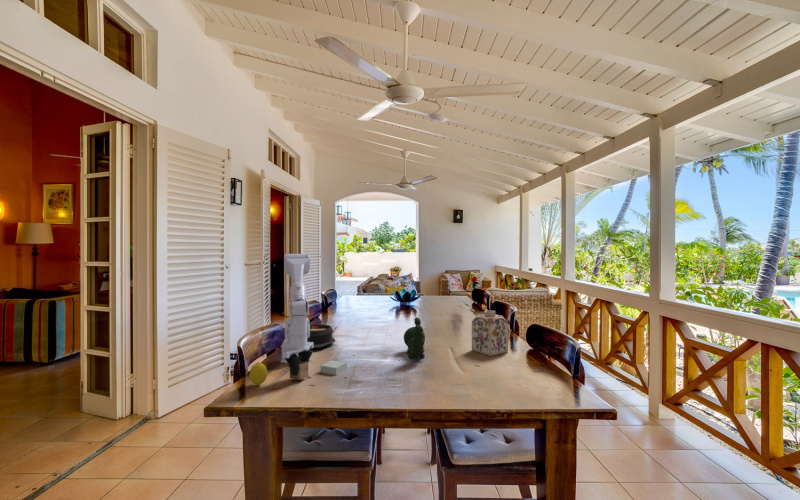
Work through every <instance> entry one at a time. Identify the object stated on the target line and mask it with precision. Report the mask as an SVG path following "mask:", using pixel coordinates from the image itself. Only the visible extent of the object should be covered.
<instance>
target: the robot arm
mask: <svg viewBox="0 0 800 500" xmlns="http://www.w3.org/2000/svg"><path fill="white" fill-rule="evenodd" d="M283 257H284V260H283V261H284V264H283V265H284V267H283V268H284V272H285V274H286V275H288V276H290V279H291V286H290V287H289V303H288V315H289V317H288V318H286V319H285V321H284V340H283V341H282V344H281V360H280V363H282V364H288V367H289V372H290V371H291V375H294V376H297V375H298V366H299V361H305V362H308V363H310V361H311V360H312V358H311V357H312V355H313V352H314V350H313V349H314V348H313V347H314V342H307V338H309V337H310V325H311V324H310V320H309V318H308V316H309V300H308V297H307V286H306V285H305V284H304V283H303V282H304V276H305V275H307V274H309V272H310V267H311V256H310V253H285V254H284V255H283Z"/></svg>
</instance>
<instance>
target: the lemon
mask: <svg viewBox="0 0 800 500" xmlns="http://www.w3.org/2000/svg"><path fill="white" fill-rule="evenodd" d="M267 377H268V369H267V366H266V365H265V364H263V362H259V361H257V362H256V363H255V364H253V365H252V366H251V367H250V370H249V380H250V382H251V383H252V384H253V385H256V386H258V387H259V386H261V385H262V384H264V383H265V381H266V380H267Z"/></svg>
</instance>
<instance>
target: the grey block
mask: <svg viewBox="0 0 800 500" xmlns="http://www.w3.org/2000/svg"><path fill="white" fill-rule="evenodd" d="M347 370H348V362H345V361H339V360H338V361H337V360H333V359H332V360H330V361H328V362H325V363H323V364H321V365H320V373H322V374H327V375H332V376H338V375H340V374H341V373H343V372H345V371H347Z"/></svg>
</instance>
